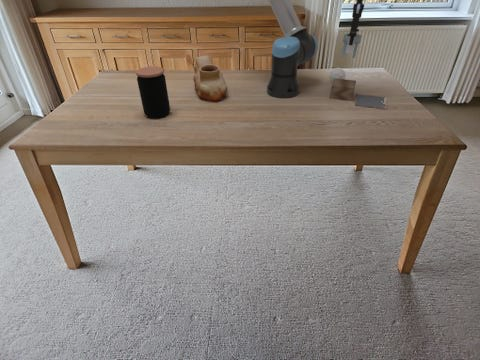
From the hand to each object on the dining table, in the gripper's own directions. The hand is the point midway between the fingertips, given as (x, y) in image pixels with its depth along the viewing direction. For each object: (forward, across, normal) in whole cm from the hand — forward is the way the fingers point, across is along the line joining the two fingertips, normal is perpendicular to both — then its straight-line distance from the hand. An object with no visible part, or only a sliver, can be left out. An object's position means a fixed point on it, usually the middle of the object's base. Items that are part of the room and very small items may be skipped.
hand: (349, 50), depth 130 cm
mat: (+20, -3, -14) cm, 24 cm away
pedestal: (+20, 0, -1) cm, 20 cm away
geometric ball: (+20, +16, +3) cm, 26 cm away
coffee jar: (+21, -44, +70) cm, 86 cm away
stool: (+2, 0, 0) cm, 2 cm away
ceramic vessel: (+21, -15, +59) cm, 65 cm away
